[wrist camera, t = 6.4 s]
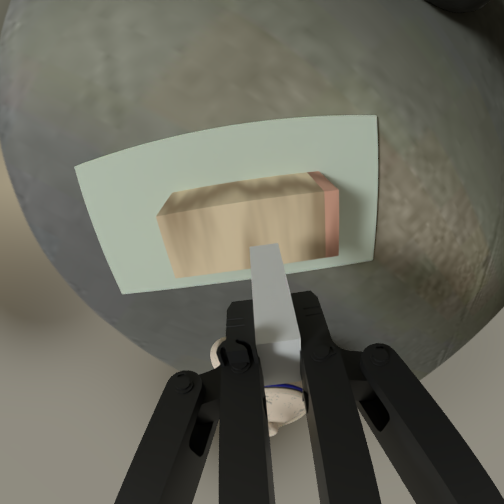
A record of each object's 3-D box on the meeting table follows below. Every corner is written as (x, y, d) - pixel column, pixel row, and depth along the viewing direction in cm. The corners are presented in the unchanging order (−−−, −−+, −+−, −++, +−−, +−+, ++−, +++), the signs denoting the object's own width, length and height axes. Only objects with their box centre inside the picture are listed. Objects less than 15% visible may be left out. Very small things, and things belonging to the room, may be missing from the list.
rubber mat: (374, 115, 19) (376, 115, 19) (371, 258, 26) (372, 260, 26) (76, 165, 20) (74, 166, 20) (123, 291, 27) (122, 294, 27)
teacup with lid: (312, 345, 32) (332, 428, 22) (255, 375, 35) (261, 452, 25) (248, 291, 28) (254, 392, 17) (188, 331, 30) (174, 422, 20)
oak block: (172, 192, 22) (318, 171, 21) (186, 245, 24) (321, 226, 24) (155, 216, 17) (338, 189, 17) (175, 278, 20) (338, 255, 19)
